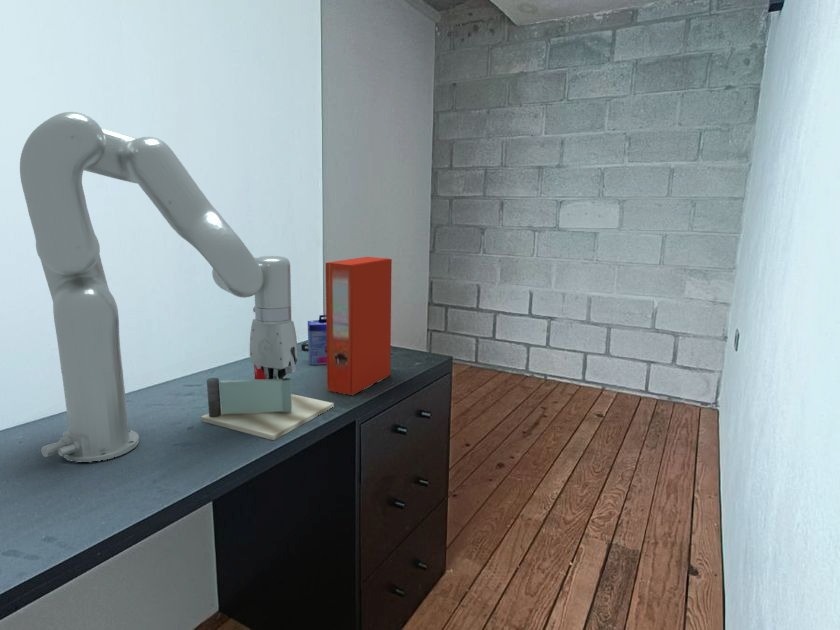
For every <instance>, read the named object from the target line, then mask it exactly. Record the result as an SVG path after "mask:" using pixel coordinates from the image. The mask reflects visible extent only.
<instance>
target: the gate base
mask: <svg viewBox="0 0 840 630" xmlns="http://www.w3.org/2000/svg"><path fill="white" fill-rule="evenodd" d="M206 388H207V389H206V390H207V403H208V413H206V414H204V415H202V416H201V417H200V419H201V422H204V423H208V424H211V425H215V426H218V427H221V428H226V429H229V430H234V431H237V432H241V433H245V434H249V435H251V436H254V437H260V438H264V439H267V440H270V441H276V440H277V439H279V438H281V437H283V436H284V435H286V434H288V433H290V432H292V431H293V430H296V429H297V428H299V427H301V426H303V425H305V424H306V423H309V422H310V421H312V420H314V419H315V418H317V417H319V416H321V415H322V413H323V414H324V413H326V412H328V411H329V409H330V408H332V407H333V408H335V402H330V401H325V400H321V399H316V398H312V397H307V396H303V395H302V396H301V395H297V394H294V393H293V394H292V393H291V400H292V410H291V411H289V412H284V411H277V412H252V413H228V414H222V410H221V395H220V379H219V377H209V378H207V379H206ZM333 408H332V409H333ZM327 410H328V411H327ZM330 410H331V409H330ZM320 414H321V415H320ZM318 415H319V416H318Z"/></svg>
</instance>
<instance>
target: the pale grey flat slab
mask: <svg viewBox="0 0 840 630" xmlns="http://www.w3.org/2000/svg"><path fill="white" fill-rule="evenodd" d="M291 381H292V377H284V378H283V379H258V380H255V379H236V380H235V379H234V380H232V379H230V380H219V390H220V405H221V410H222V414H228V413H252V412H277V411H284V412H289V411H291V410H292V400H291V394H292V382H291Z"/></svg>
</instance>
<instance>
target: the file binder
mask: <svg viewBox="0 0 840 630" xmlns="http://www.w3.org/2000/svg"><path fill="white" fill-rule="evenodd" d="M325 308H326V309H325V315H326V317H325V319H326V328H327V364H326V378H327V379H326V382H327V383H326V384H327V386H326V387H327V388H326V389H327V390H328V391H329V392H332V391H333V392H332V393H336V392H338V393H337V394H341V393H345V394H351V395H353V394H355V393H357V392H359V391H361V390H363V389H364V388H366V387H368V386H370V385H372V384H374V383H375V382H377V381H379V380H381V379H383V378H385V377H387V376H389V375H390V376H391V351H392V350H391V348H392V347H391V346H392V345H391V343H392V342H391V340H392V338H391V337H392V336H391V335H392V334H391V333H392V331H391V330H392V328H391V327H392V324H391V323H392V258H387V257H386V258H385V257H373V256H363V257H356V258H355V257H354V258H350V259H342V260H335V261H329V262H328V261H327V262H325ZM363 391H364V390H363ZM361 392H362V391H361ZM345 394H344V395H345Z"/></svg>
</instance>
